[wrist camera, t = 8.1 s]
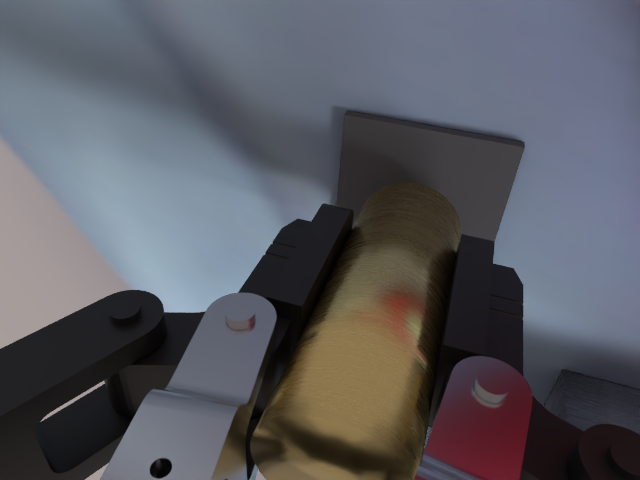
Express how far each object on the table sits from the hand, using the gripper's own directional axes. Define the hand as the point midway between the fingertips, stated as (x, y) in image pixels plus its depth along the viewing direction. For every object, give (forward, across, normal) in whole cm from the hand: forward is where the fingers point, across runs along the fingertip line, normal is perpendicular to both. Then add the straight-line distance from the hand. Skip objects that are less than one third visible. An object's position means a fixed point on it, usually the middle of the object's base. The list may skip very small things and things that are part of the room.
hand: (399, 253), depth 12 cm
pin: (+1, 0, 0) cm, 1 cm away
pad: (+2, 0, 0) cm, 2 cm away
